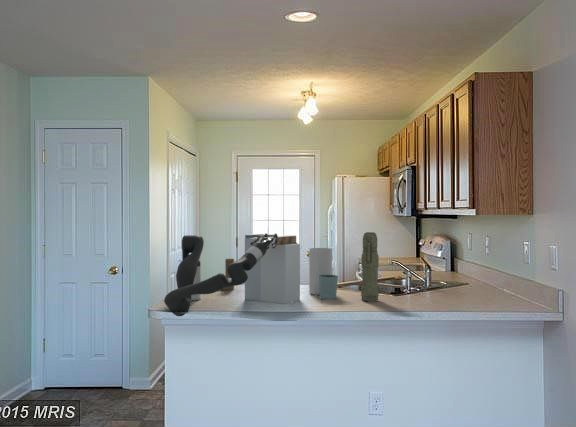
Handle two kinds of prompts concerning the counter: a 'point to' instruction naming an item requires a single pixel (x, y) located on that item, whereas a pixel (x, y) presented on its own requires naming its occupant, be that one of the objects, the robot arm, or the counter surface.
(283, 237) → the walnut bar
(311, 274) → the cylinder vase
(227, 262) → the wooden block
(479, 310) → the counter surface
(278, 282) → the stand
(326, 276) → the teal cup
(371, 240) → the thermos
